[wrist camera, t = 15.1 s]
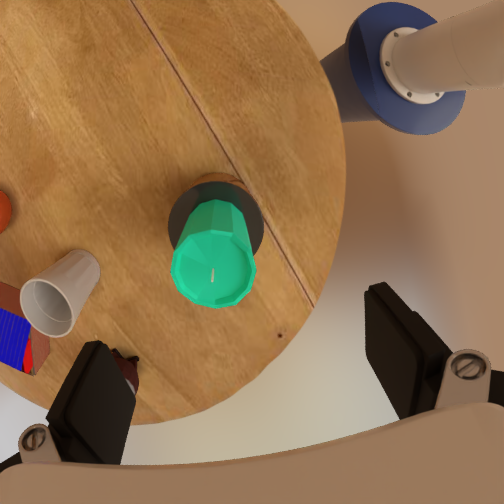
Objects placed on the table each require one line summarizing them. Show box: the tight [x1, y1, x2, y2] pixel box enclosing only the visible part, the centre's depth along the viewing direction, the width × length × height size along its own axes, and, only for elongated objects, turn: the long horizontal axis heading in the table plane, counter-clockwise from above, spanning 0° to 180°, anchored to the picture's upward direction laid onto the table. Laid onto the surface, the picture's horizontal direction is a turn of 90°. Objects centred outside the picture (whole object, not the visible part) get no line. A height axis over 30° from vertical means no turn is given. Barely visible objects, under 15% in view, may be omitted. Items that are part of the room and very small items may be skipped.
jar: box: [168, 173, 264, 256], centre depth 37 cm, size 10×10×10 cm
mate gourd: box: [112, 349, 139, 395], centre depth 42 cm, size 8×8×15 cm
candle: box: [170, 199, 257, 309], centre depth 26 cm, size 6×6×12 cm
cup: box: [20, 249, 100, 337], centre depth 37 cm, size 8×8×12 cm
